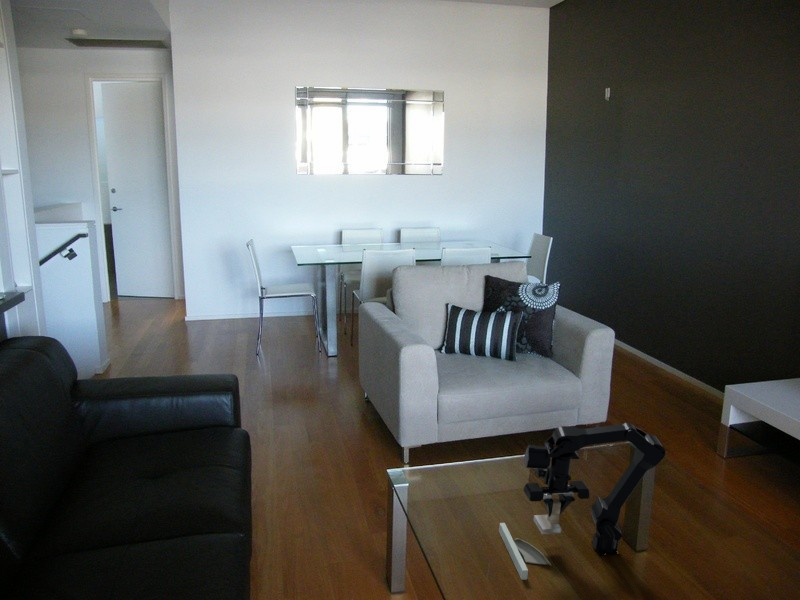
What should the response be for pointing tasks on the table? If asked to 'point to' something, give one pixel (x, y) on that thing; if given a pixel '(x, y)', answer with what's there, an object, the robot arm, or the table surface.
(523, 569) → the stop rail
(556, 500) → the plate with square post
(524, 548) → the ceramic fragment
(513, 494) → the table surface
